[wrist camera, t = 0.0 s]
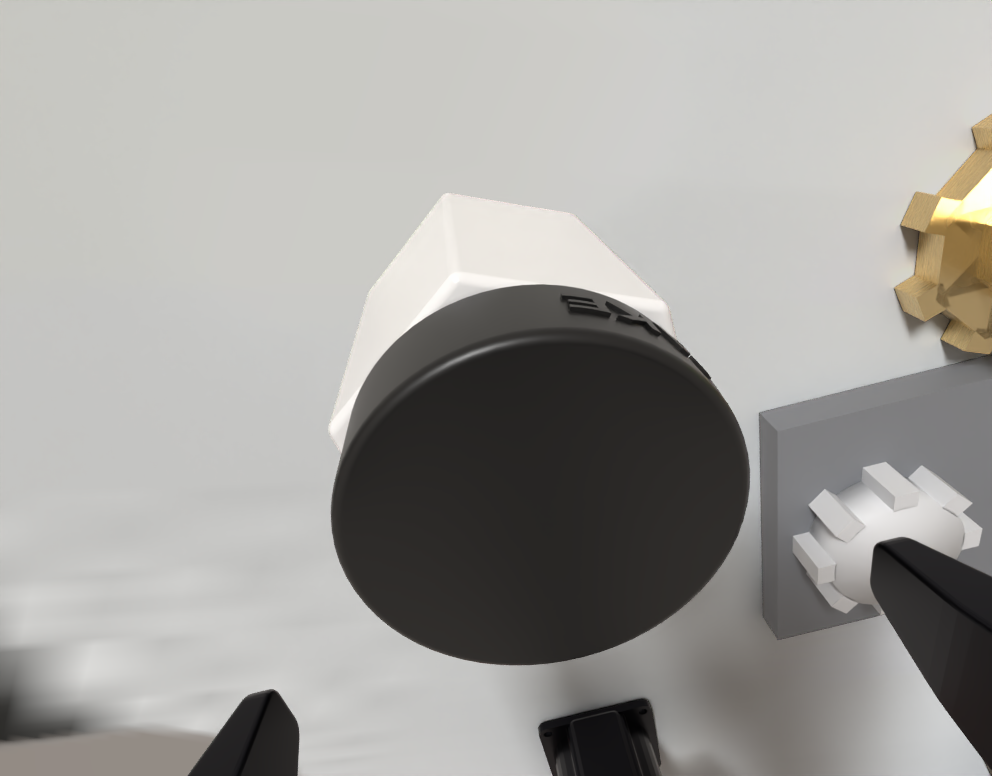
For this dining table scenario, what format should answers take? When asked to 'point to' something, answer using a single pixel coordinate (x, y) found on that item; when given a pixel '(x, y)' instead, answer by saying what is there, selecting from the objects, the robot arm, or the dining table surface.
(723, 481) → the jar
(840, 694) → the dining table surface
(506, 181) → the dining table surface
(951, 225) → the brass gear
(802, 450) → the plate
